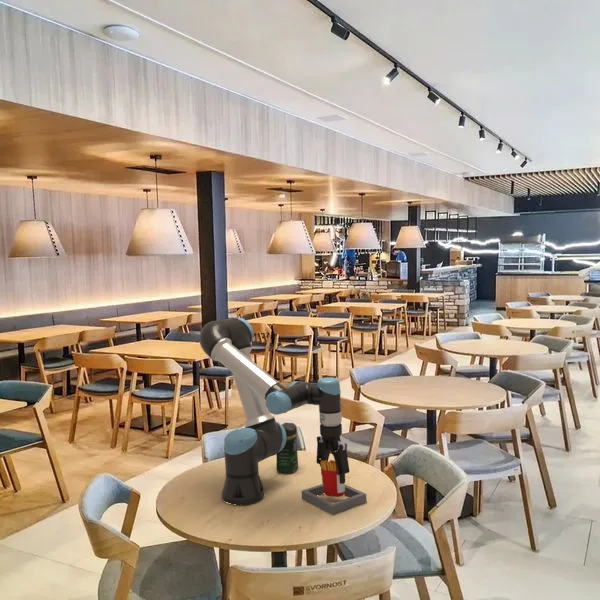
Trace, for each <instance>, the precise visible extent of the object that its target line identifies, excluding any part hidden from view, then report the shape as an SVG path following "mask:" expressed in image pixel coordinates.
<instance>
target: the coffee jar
mask: <svg viewBox="0 0 600 600" xmlns="http://www.w3.org/2000/svg"><path fill="white" fill-rule="evenodd" d="M281 425H282V426H283V427H284V429H285V432H286V444H285V446H284V448H283V449H282V450H281V451H280V452H278V453H277V454H276V455H275V456H276V472H277V473H280V474H285V475H286V474H293V473H294V472H296V471H297V469H298V467H299V458H298V440H297V439H298V429H297V425H296V424H295V423H293V422H284V423H282V424H281Z"/></svg>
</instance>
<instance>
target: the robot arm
mask: <svg viewBox="0 0 600 600" xmlns="http://www.w3.org/2000/svg"><path fill="white" fill-rule="evenodd" d="M254 334H255V333H254V330H253V326H252V325H251V324H250V322H249V321H248V320H246V319H245V318H242V317H230V318H225V319H219V320H212V321H209V322H208V323H206V324H205V325H204V326H203V327H202V328H201V330H200V334H199V337H198V338H199V344H200V348H201V349H202V351H203V352H204V353H205V355H207V357H209V358H210V359H211V360H212V361H214V362H219V363H221V364H222V365H223V366H224V367H225V368H226V369H227V370H229V371H230V372H231V373H232V376H233V380H234V383H235V387H236V389H237V393H238V396H239V398H240V401H241V406H242V408H243V409H242V410H243V411H244V416H245V419H246V423H245V425H244V427H242V428H240V429H239V428H238V429H234V430H232V431H230V432H228V433H227V434H226V435H225V436H224V443H223V444H224V445H223V451H224V464H225V466H224V467H225V468H224V469H225V480H224V482H223V488H222V492H221V500H222V499H223V500H224V501H225V502H228V503H231V504H236V505H235V506H248V505H252V504H256V503H259V502H260V501H262V500H263V499H264V498H265V487H264V484H263V482H262V480H261V476H260V473H259V463H260V462H262V461H264V460H266V459H269V458H270V457H272V456H276V454H277V453H278V452H280V451H281V450H282V449H283V448H284V446H285V444H286V432H285V429H284V427H283V426H282V424H281V422H279V421H276V418H275V416H276V415H281V414H287V413H288V412H289V411H291V410H294V409H298V408H300V407H303V406H305V405H313V406H318V412H319V414H318V415H319V423H320V424H319V433H320V435H319V436H316V443H317V446H316V464H318V465H319V467H320V474H321V476H322V471H321V469H322V466H321V461H322V460H323V461H325V460H327V462H329V458H330V453H331V455H332V456H333V458H334V459H333V460H334V461H335V463H336V466H337V470H338V473H337V493H341V492H344V491H345V485H346V474H349V473H350V467H349V460H348V459H349V457H348V451H347V450H348V449H347V448H348V444H347V443H345V442H342V441H341V436H342V434H343V425H342V421H343V419H342V408H341V402H342V401H341V392H342V391H341V387H340V386H341V385H340V380H339V379H338V378H336V377H321V378H319V379H318V380H317V382H311V381H310V382H309V381H303V380H299V381H295V380H294V381H292V382H291V383H290V384H289V385H288V387H286V386H284V385H283V384H281V383H280V381H278V380H277V379H275V378H274V377H273V376H271V374H269V373H268V372H267V371H265V370H264V369H263V368H262V367H260V366H259V365H258V364H257V363H255V362H254V361H253V359H252V357H251V356H252V355H251V351H252V350H253V346H252V342H254V337H255V335H254ZM321 484H322V486H324V485H323V478H322V477H321ZM263 497H264V498H263ZM223 500H222V501H223ZM224 501H223V502H224ZM225 502H224V503H225Z"/></svg>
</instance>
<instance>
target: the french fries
mask: <svg viewBox="0 0 600 600" xmlns="http://www.w3.org/2000/svg"><path fill="white" fill-rule="evenodd" d="M321 466H322V469H321V468H320V472H321V471H322V475H321V479H322V478H323V485H324V492H325V494H324V495H325V496H326V497H335V498H340V497H344V496H345V495H344V492H341V493H337V473H338V470H337V466H336V463H335V459H331V460H328V462H327V460H325V461H323V460H322V461H321Z"/></svg>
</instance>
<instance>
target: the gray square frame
mask: <svg viewBox="0 0 600 600" xmlns="http://www.w3.org/2000/svg"><path fill="white" fill-rule="evenodd" d="M323 493H325V492H324V486H322V483H321V484H318V485H314V486H312V487H309V488H306V489H303V490H301V500H302V499H303V501H304V500H305V502H306V503H308V504H310V505H312V506H314V507H315V508H318V509H320V510H321V511H323V512H325V513H327V514H329V515H331V516H335V515H337V514H340V513H342V512H344V511H348V510H350V509H353V508H356V507H359V506H361V505H364V504H366V503H367V493H365V492H363V491H361V490H358V489H356V488H355V487H351V486H350V485H347V484H345V491H344V495H343V496H347V498H344V499H342V500H339V501H336V502H334V503H333V502H330V501H329V500H327V499H324V498H322V497H321V494H322V495H324V494H323ZM317 495H319V496H317ZM363 503H364V504H363Z"/></svg>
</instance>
